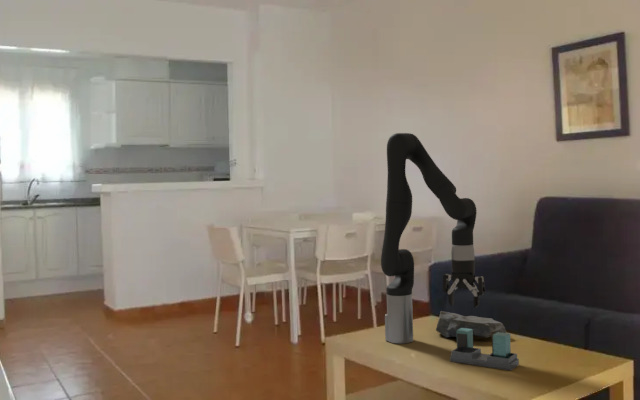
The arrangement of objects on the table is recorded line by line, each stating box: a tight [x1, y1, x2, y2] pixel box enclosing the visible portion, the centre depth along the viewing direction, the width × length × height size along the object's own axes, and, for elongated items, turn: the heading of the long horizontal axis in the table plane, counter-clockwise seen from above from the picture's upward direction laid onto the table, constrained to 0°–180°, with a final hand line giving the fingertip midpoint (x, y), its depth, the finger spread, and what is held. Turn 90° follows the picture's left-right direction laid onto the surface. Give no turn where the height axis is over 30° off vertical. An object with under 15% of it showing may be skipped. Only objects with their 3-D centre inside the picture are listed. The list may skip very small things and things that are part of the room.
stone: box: [435, 310, 507, 339], centre depth 251 cm, size 24×8×25 cm
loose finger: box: [456, 328, 474, 348], centre depth 226 cm, size 4×4×8 cm
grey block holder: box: [449, 332, 520, 371], centre depth 214 cm, size 20×7×10 cm, turn 54°
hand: (464, 306), depth 226 cm, fingers open, 8 cm apart
